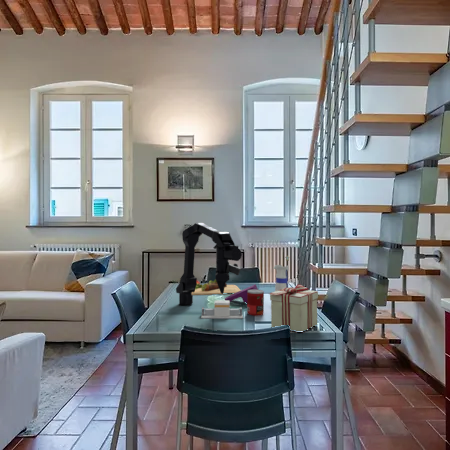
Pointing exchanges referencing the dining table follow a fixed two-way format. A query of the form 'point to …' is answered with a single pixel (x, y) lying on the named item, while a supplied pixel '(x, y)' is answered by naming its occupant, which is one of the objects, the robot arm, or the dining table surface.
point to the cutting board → (213, 288)
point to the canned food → (255, 302)
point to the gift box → (294, 308)
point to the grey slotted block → (222, 308)
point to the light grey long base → (210, 314)
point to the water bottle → (281, 276)
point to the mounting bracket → (241, 294)
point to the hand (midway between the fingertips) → (222, 292)
